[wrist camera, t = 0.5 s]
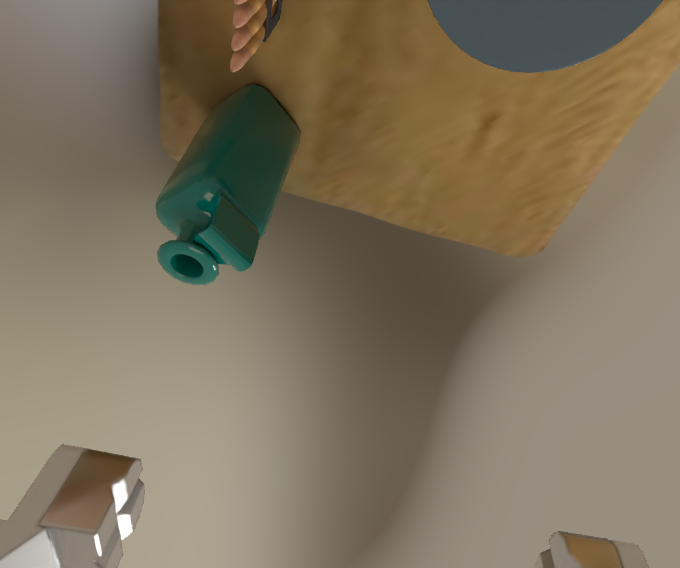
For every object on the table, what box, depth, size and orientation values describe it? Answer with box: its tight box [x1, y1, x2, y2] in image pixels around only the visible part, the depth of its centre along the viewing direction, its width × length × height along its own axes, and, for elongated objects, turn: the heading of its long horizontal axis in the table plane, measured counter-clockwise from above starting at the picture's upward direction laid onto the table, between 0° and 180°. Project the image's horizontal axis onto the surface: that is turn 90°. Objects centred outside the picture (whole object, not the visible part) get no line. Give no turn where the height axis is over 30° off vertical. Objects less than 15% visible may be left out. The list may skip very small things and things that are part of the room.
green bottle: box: [156, 84, 300, 285], centre depth 53 cm, size 10×8×22 cm
